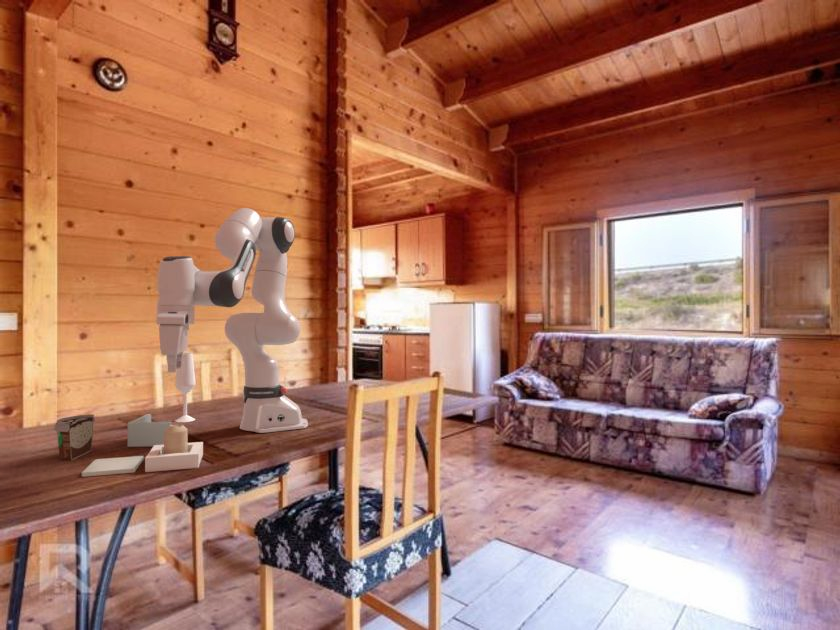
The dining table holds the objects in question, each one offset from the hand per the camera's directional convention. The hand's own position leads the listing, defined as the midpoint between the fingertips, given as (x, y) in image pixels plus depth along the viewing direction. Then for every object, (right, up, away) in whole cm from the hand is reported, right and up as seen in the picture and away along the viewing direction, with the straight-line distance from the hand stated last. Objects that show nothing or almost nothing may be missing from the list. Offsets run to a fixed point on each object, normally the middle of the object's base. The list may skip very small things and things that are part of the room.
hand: (175, 370), depth 129 cm
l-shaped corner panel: (-15, -25, +21) cm, 36 cm away
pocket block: (0, -24, 0) cm, 24 cm away
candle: (0, -24, 0) cm, 24 cm away
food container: (-31, -24, +5) cm, 40 cm away
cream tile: (-13, -24, -5) cm, 28 cm away
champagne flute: (-20, -24, +49) cm, 58 cm away
